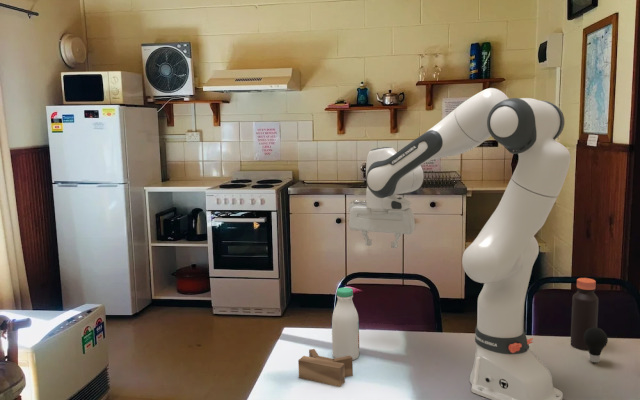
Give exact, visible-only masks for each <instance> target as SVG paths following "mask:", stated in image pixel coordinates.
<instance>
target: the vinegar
mask: <svg viewBox="0 0 640 400" xmlns="http://www.w3.org/2000/svg"><path fill="white" fill-rule="evenodd" d="M596 281H597V280H595V279H594V278H588V277H579V278H577V279H576V289H577V291H576V292H575V293H573V295H572V302H571V303H572V304H571V305H572V306H571V322H570V324H571V326H570V345H571V346H572V347H573V348H575V349H578V350H581V351H589V350H588V346H587V345H586V343H585V342H584V333H585V331H586V330H587V329H589V328H592V327H597V328H598V320H599V319H598V318H599V317H598V316H599V296H597V294H596V293H595V291H596V285H597V284H596V283H597V282H596Z"/></svg>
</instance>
